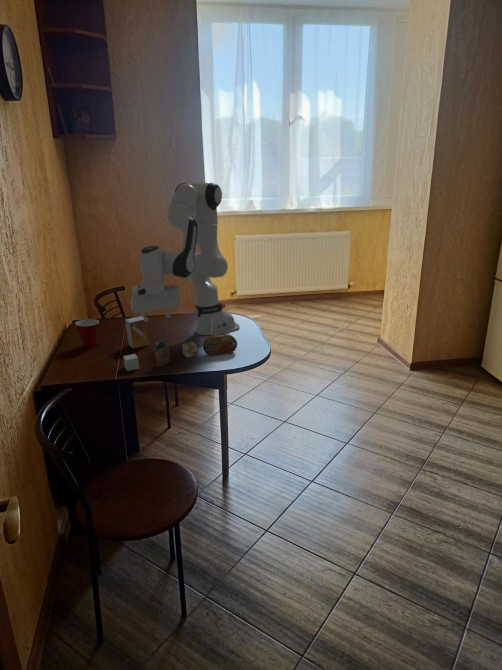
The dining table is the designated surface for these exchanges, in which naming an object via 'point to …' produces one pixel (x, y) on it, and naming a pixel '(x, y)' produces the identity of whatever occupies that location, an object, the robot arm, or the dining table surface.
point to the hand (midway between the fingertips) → (157, 319)
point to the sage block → (131, 362)
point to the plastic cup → (88, 331)
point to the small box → (137, 332)
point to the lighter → (162, 352)
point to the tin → (219, 345)
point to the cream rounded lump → (189, 349)
